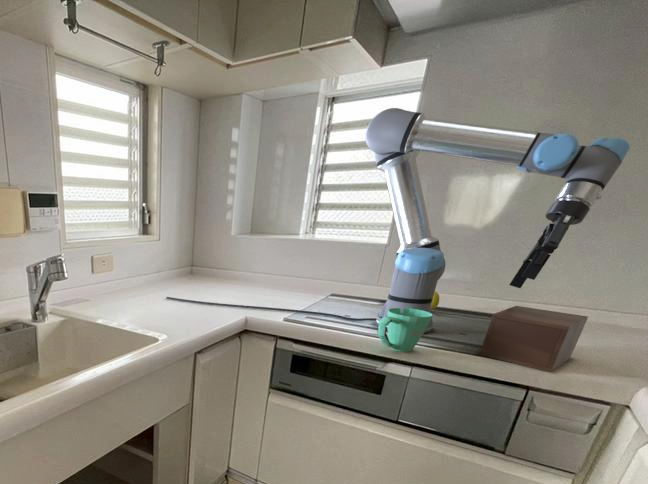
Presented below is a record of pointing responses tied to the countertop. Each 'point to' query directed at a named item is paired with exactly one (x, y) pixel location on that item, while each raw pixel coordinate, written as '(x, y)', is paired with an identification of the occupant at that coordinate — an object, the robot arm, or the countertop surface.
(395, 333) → the mug
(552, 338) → the cabinet
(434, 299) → the lemon
